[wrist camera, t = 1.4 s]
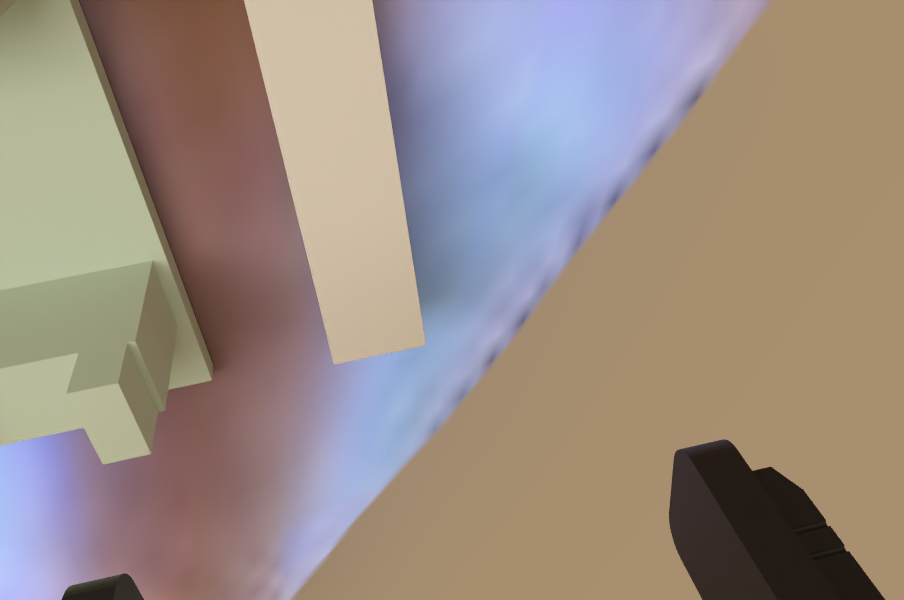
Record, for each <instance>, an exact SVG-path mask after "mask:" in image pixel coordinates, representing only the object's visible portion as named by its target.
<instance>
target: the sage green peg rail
mask: <svg viewBox="0 0 904 600" xmlns="http://www.w3.org/2000/svg"><path fill="white" fill-rule="evenodd" d="M212 375H213V363H212V361H211V358H210V355H209V353H208V350H207V347H206V344H205V342H204V339H203V336H202V334H201V331H200V328H199V325H198V323H197V320H196V317H195V315H194V312H193V309H192V306H191V304H190V301H189V298H188V296H187V293H186V290H185V287H184V285H183V282H182V279H181V277H180V274H179V271H178V268H177V266H176V263H175V260H174V258H173V255H172V252H171V249H170V247H169V244H168V241H167V239H166V236H165V233H164V230H163V228H162V225H161V222H160V220H159V217H158V214H157V211H156V209H155V206H154V203H153V201H152V198H151V195H150V192H149V190H148V187H147V184H146V182H145V179H144V176H143V173H142V171H141V168H140V165H139V163H138V160H137V157H136V154H135V152H134V149H133V146H132V144H131V141H130V138H129V135H128V133H127V130H126V127H125V125H124V122H123V119H122V116H121V114H120V111H119V108H118V106H117V103H116V100H115V97H114V95H113V92H112V89H111V87H110V84H109V81H108V78H107V76H106V73H105V70H104V68H103V65H102V62H101V59H100V57H99V54H98V51H97V49H96V46H95V43H94V40H93V38H92V35H91V32H90V30H89V27H88V24H87V21H86V19H85V16H84V13H83V11H82V8H81V5H80V2H79V0H0V446H1V445H5V444H10V443H15V442H19V441H24V440H29V439H34V438H38V437H43V436H48V435H52V434H57V433H62V432H66V431H71V430H76V429H80V428H84V429H85V431H86V433H87V435H88V437H89V439H90V441H91V443H92V444H93V446H94V448H95V450H96V452H97V454H98V456H99V458H100V460H101V462H102V464H108V463H112V462H117V461H121V460H126V459H130V458H135V457H140V456H144V455H149V454H151V452H152V445H153V439H154V433H155V426H156V420H157V413H158V412H160V411H165V408H166V401H167V395H168V390H169V389H174V388H179V387H183V386H188V385H193V384H198V383H203V382H207V381H212Z"/></svg>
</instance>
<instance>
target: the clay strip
mask: <svg viewBox="0 0 904 600" xmlns="http://www.w3.org/2000/svg"><path fill="white" fill-rule="evenodd" d="M244 2H245V6H246V10H247V14H248V18H249V22H250V27H251V31H252V35H253V39H254V43H255V47H256V51H257V55H258V59H259V63H260V67H261V71H262V75H263V79H264V83H265V87H266V91H267V95H268V99H269V104H270V108H271V112H272V116H273V120H274V124H275V128H276V132H277V136H278V140H279V144H280V148H281V152H282V156H283V160H284V164H285V168H286V172H287V176H288V181H289V185H290V189H291V193H292V197H293V201H294V205H295V209H296V213H297V217H298V221H299V225H300V229H301V233H302V237H303V241H304V245H305V249H306V253H307V258H308V262H309V266H310V270H311V274H312V278H313V282H314V286H315V290H316V294H317V298H318V302H319V306H320V310H321V314H322V318H323V322H324V326H325V331H326V335H327V339H328V343H329V347H330V351H331V355H332V359H333V363H334V364H339V363H343V362H348V361H353V360H358V359H363V358H367V357H372V356H377V355H382V354H387V353H392V352H396V351H401V350H406V349H411V348H416V347H421V346H425V345H426V342H425V336H424V329H423V323H422V316H421V310H420V304H419V297H418V291H417V284H416V278H415V271H414V265H413V259H412V252H411V246H410V239H409V233H408V227H407V220H406V214H405V207H404V201H403V194H402V188H401V182H400V175H399V169H398V162H397V156H396V150H395V143H394V137H393V130H392V124H391V117H390V111H389V105H388V98H387V92H386V85H385V79H384V73H383V66H382V60H381V53H380V47H379V40H378V34H377V28H376V21H375V15H374V8H373V2H372V0H244Z"/></svg>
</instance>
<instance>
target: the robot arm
mask: <svg viewBox="0 0 904 600" xmlns="http://www.w3.org/2000/svg"><path fill="white" fill-rule="evenodd" d="M669 522H670V529H671V533H672V537H673V540H674V544H675V546H676V549H677V551H678V554H679V556H680V558H681V560H682V562H683V563H684V566H685V567H686V569H687V571H688V573H689V575H690V577H691V579H692V581H693V582H694V584H695V586H696V588H697V590H698V592H699V594H700V596H701V598H702V600H885V599H884V598H883V596H882V595H881V594H880V592H879V591H878V590H877V588H876V587H875V586H874V584H873V583H872V582H871V580H870V579H869V577H868V576H867V575H866V573H865V572H864V571H863V569H862V568H861V567H860V565H859V564H858V563H857V561H856V560H855V559H854V557H853V556H852V555H851V554H850V552H849V551H848V552H847V551H846V550H845V548H844V544H843V543H842V541H841V540H840V539H839V537H838V536H837V534H836V533H835V532H834V531H833V529H832V528H831V526H829V527H828V526H827V524H826V520H825V518H824V517H823V516H822V514H821V513H820V512H819V510H818V509H817V508H816V506H815V505H814V504H813V502H812V501H811V500H810V498H809V497H808V496H807V494H806V493H805V492H804V490H803V489H801V488H800V487H798V486H797V485H796V484H794V483H793V482H791V481H790V480H788V479H787V478H786V477H784V476H783V475H782V474H780V473H779V472H777V471H776V470H774V469H773V468H772V467H768V468H763V469H759V470H755V471H752V470H751V469H750V467H749V466H748V464H747V463H746V462H745V460H744V459H743V457H742V456H741V454H740V453H739V451H738V450H737V449H736V447H735V446H734V445H733V444H732V443H731V442H730V441H728V440H719V441H715V442H710V443H706V444H702V445H697V446H693V447H689V448H684V449H680V450H677V451H676V453H675V456H674V464H673V475H672V486H671V497H670V509H669ZM62 600H144V599H143V597H142V595H141V594H140V592H139V590H138V588H137V586H136V585H135V583H134V581H133V579H132V578H131V577H130V576H129V575H128V574H121V575H116V576H112V577H107V578H103V579H99V580H94V581H90V582H85V583H81V584H76V585H72V586H70V587H69V588H68V589H67V590H66V591H65V593H64V595H63V598H62Z"/></svg>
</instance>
